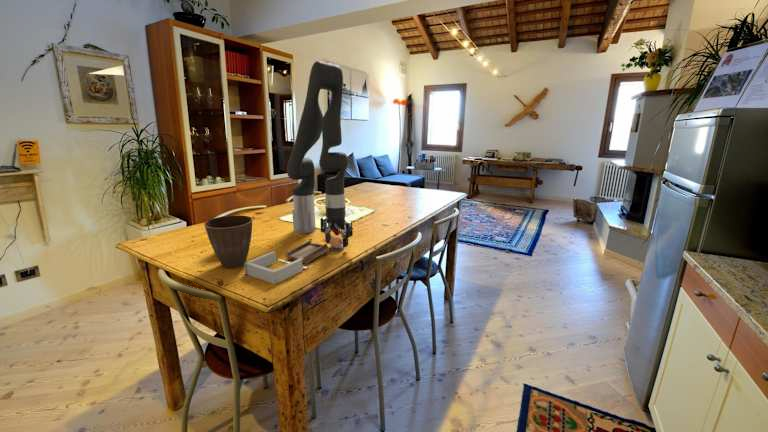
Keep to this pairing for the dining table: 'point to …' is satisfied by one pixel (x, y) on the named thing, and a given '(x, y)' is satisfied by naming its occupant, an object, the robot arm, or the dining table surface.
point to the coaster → (336, 248)
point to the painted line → (289, 262)
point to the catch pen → (273, 276)
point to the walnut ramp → (307, 251)
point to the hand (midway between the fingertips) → (336, 244)
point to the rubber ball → (336, 241)
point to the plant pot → (230, 239)
